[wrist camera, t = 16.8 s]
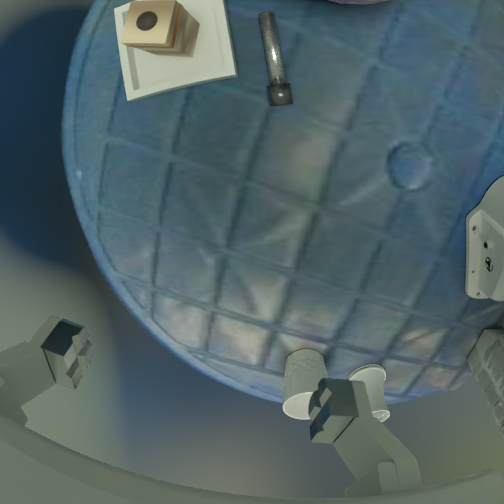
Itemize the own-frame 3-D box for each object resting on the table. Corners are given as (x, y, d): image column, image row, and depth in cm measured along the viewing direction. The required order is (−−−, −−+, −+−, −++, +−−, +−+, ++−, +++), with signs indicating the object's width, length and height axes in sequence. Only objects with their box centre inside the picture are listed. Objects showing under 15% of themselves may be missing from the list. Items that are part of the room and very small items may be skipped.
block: (192, 58, 30) (164, 43, 21) (156, 55, 30) (119, 43, 21) (200, 23, 28) (175, -1, 19) (164, 22, 28) (129, 0, 19)
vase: (390, 376, 53) (402, 415, 45) (358, 392, 56) (366, 432, 47) (375, 358, 51) (388, 400, 42) (341, 376, 54) (348, 419, 45)
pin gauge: (292, 103, 33) (293, 103, 31) (270, 106, 34) (269, 106, 31) (277, 14, 28) (277, 8, 26) (255, 17, 29) (253, 11, 26)
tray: (238, 76, 32) (235, 74, 30) (137, 100, 34) (127, 100, 31) (222, -15, 26) (218, -23, 24) (124, 13, 28) (114, 8, 25)
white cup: (329, 345, 50) (337, 391, 41) (323, 375, 54) (328, 418, 45) (283, 345, 50) (284, 392, 41) (281, 375, 54) (281, 419, 45)
